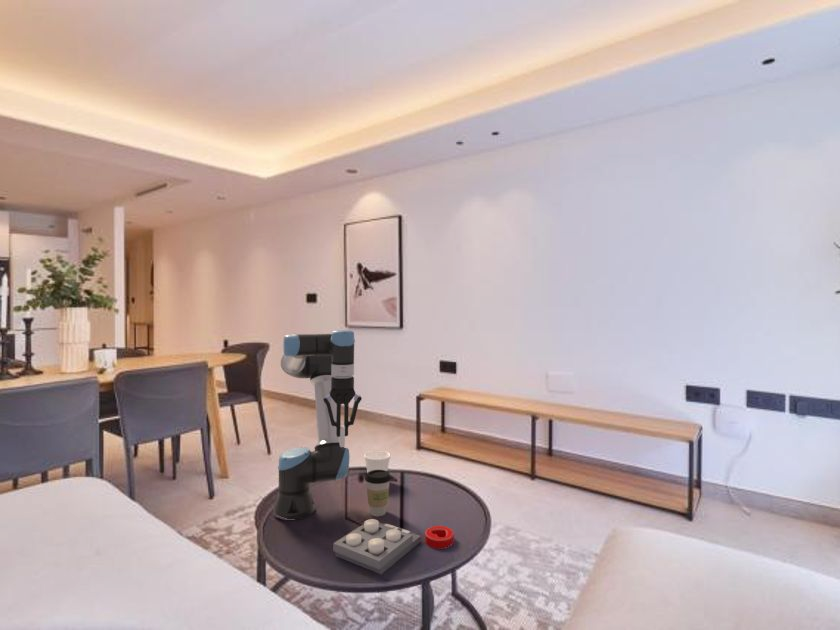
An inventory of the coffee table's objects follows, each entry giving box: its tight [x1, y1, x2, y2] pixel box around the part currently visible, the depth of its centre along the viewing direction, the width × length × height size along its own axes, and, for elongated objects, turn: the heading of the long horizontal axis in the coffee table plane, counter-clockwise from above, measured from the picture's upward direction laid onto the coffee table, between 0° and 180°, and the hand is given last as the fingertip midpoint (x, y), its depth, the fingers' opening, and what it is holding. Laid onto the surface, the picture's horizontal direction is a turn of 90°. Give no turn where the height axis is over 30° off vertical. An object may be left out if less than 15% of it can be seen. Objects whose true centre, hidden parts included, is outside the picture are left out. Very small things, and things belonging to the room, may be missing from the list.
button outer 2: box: [386, 529, 401, 543], centre depth 148 cm, size 5×5×3 cm
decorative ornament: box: [424, 525, 455, 550], centre depth 154 cm, size 10×10×3 cm
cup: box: [363, 450, 391, 473], centre depth 204 cm, size 12×12×12 cm
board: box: [332, 521, 422, 575], centre depth 149 cm, size 18×23×4 cm
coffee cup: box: [364, 470, 392, 517], centre depth 175 cm, size 10×10×15 cm
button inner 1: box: [345, 533, 361, 547], centre depth 145 cm, size 5×5×3 cm
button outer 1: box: [368, 538, 384, 556], centre depth 140 cm, size 5×5×3 cm
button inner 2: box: [363, 518, 380, 535], centre depth 153 cm, size 5×5×3 cm
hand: (342, 445), depth 154 cm, fingers closed
